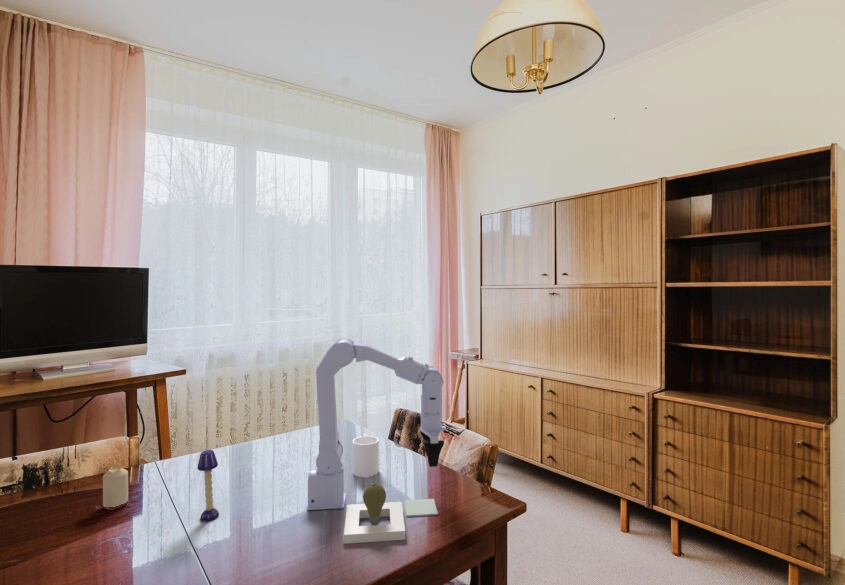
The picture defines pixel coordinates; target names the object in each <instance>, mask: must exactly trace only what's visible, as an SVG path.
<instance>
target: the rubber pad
mask: <svg viewBox="0 0 845 585" xmlns="http://www.w3.org/2000/svg"><path fill="white" fill-rule="evenodd" d="M404 508H405V515H406V518H412V517H427V516H439V513H438V510H437V506H436V502H435V498H423V499H422V498H421V499H420V498H419V499H406V500H405V499H404Z"/></svg>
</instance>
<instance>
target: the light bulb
mask: <svg viewBox="0 0 845 585" xmlns="http://www.w3.org/2000/svg"><path fill="white" fill-rule="evenodd" d="M386 499H387V492H386V489H385V488H384V487H383V486H382V485H381V484H379V483H370V484H369V485H368V486H367V487H365V489H364V491H363V493H362V500H363V504H365V505H366V507H367V510H368V514H369V516H370V518H369V524H370V526H371V525H380V522H381V521H380V518H381V517H380V514H381V510H382V507H383V505H384V503H386Z"/></svg>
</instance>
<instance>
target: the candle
mask: <svg viewBox="0 0 845 585" xmlns="http://www.w3.org/2000/svg"><path fill="white" fill-rule="evenodd" d="M127 501H128V502H129V471H128V470H127V469H125V468H122V467H117V466H114V467H112V468H110V469H108V471H106V472H105V473H104V474H103V476H102V507H103V506H104V507H107V508H108V507H116V506H119V505H121V504H124V503H126V502H127Z"/></svg>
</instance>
